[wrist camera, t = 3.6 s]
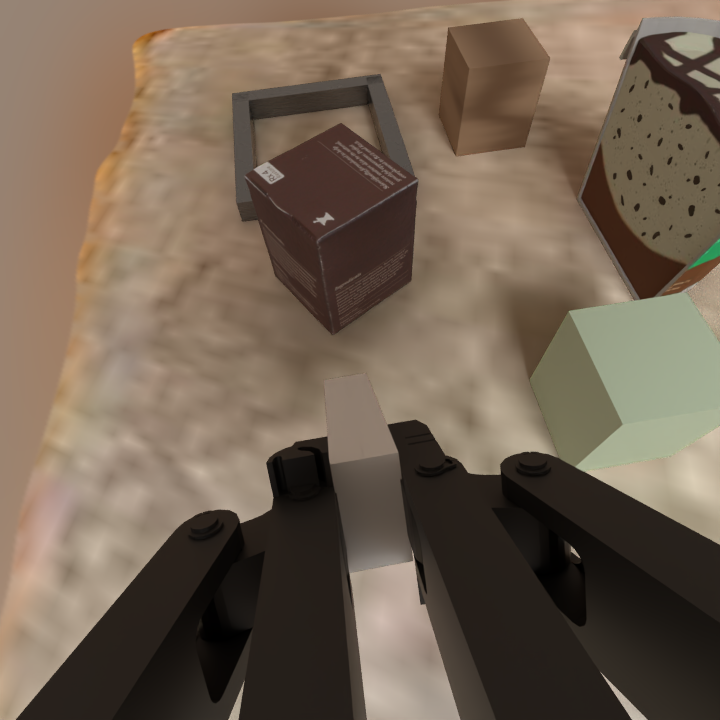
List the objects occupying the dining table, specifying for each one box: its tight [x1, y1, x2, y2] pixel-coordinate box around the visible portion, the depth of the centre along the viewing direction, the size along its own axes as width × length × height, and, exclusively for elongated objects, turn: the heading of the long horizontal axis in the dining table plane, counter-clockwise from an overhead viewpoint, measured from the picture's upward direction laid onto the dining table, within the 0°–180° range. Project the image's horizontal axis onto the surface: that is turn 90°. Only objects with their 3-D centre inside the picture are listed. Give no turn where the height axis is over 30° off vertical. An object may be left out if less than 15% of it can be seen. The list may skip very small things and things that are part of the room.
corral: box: [232, 74, 415, 221], centre depth 34 cm, size 11×12×2 cm
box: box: [244, 123, 418, 334], centre depth 25 cm, size 6×6×7 cm
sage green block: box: [529, 292, 720, 472], centre depth 21 cm, size 5×5×6 cm
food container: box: [577, 17, 720, 300], centre depth 24 cm, size 12×6×10 cm, turn 9°
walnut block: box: [439, 18, 550, 156], centre depth 32 cm, size 5×5×6 cm
